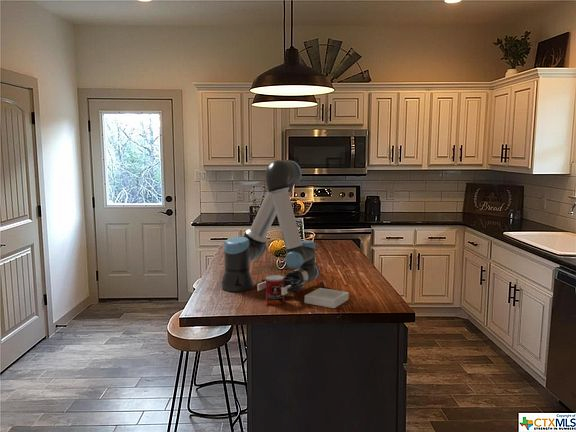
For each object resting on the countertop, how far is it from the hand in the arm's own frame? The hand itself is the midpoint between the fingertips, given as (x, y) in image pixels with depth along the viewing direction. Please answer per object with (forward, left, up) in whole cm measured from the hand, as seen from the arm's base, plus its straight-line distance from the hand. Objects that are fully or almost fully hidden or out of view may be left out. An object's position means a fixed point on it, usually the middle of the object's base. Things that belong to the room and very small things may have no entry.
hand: (269, 289), depth 195 cm
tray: (+18, +17, -6) cm, 26 cm away
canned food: (0, +4, -7) cm, 8 cm away
